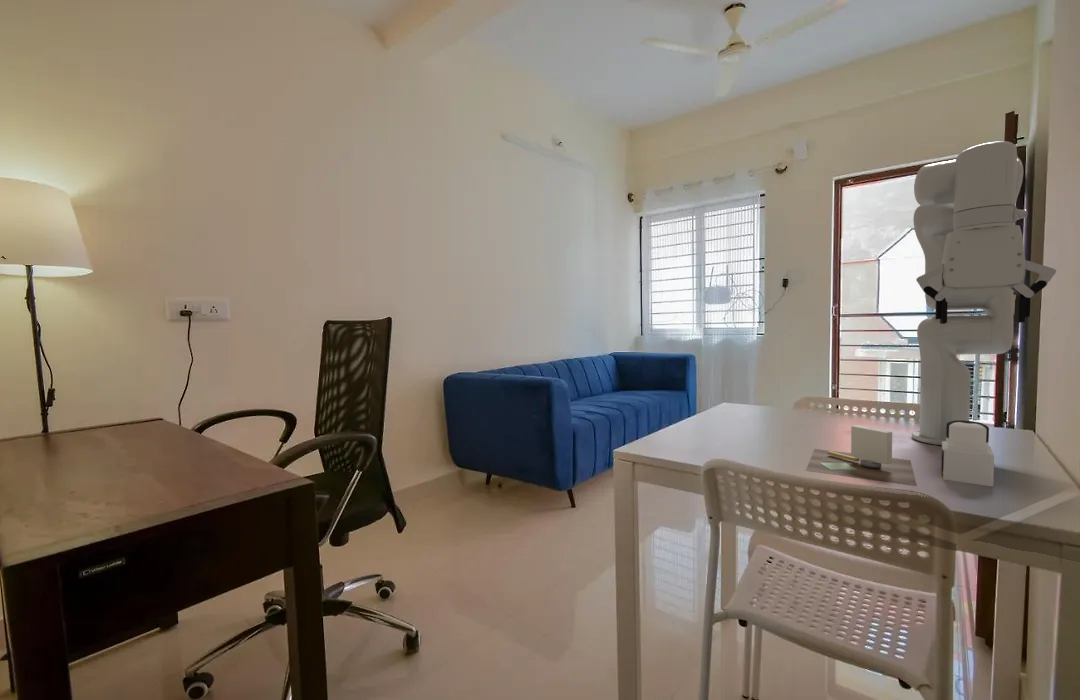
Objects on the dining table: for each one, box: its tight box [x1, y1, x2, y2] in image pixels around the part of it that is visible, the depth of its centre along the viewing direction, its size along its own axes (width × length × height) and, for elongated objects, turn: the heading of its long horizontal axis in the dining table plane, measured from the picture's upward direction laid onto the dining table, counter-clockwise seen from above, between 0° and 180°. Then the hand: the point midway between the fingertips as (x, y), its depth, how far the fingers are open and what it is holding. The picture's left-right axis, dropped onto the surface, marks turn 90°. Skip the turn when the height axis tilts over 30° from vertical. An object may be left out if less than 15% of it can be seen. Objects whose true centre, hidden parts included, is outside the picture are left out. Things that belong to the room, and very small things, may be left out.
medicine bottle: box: [940, 420, 995, 487], centre depth 90 cm, size 7×7×12 cm
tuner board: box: [805, 448, 918, 487], centre depth 100 cm, size 18×18×1 cm
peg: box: [828, 424, 893, 468], centre depth 101 cm, size 4×12×8 cm, turn 25°
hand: (980, 322), depth 81 cm, fingers open, 9 cm apart
